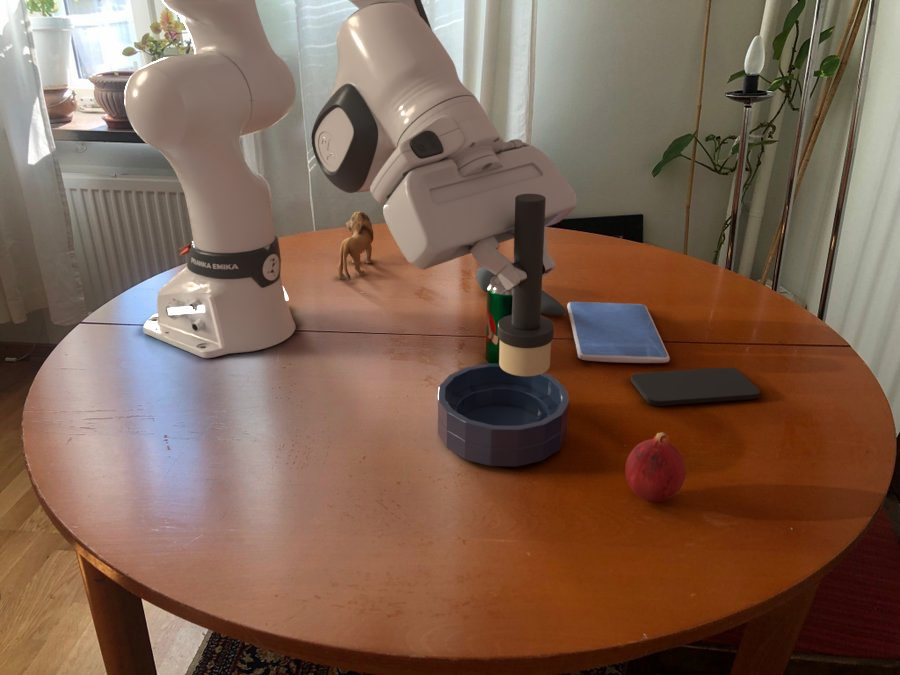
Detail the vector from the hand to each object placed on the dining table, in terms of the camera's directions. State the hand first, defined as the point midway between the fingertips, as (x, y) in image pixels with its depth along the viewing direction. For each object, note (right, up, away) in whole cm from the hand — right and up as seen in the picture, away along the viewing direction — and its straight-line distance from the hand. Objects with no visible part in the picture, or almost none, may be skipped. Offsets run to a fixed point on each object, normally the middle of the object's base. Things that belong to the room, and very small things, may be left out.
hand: (532, 279), depth 66 cm
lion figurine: (-25, +7, +68) cm, 73 cm away
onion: (+13, -22, +9) cm, 27 cm away
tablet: (+17, -5, +44) cm, 47 cm away
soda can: (0, -9, +36) cm, 37 cm away
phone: (+24, -12, +29) cm, 40 cm away
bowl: (-1, -17, +20) cm, 26 cm away
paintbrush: (+4, 0, +55) cm, 55 cm away
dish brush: (0, -8, +4) cm, 9 cm away
